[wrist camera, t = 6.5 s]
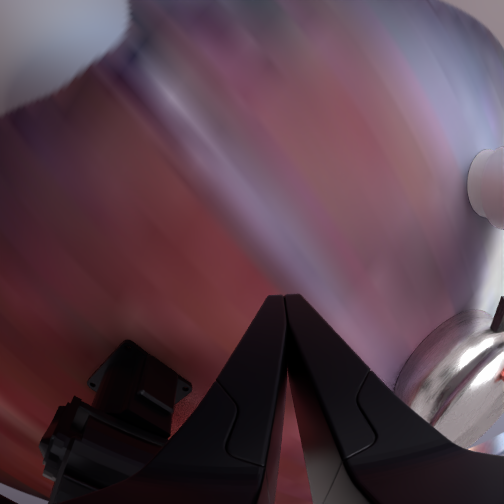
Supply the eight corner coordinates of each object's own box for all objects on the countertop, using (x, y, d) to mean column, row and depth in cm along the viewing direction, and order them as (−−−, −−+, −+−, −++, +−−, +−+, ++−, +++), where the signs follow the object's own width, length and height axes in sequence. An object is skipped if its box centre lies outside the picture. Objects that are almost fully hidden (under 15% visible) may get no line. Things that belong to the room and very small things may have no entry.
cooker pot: (366, 444, 29) (381, 477, 24) (431, 279, 23) (469, 306, 18) (465, 417, 31) (483, 441, 27) (528, 280, 25) (558, 298, 21)
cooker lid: (396, 473, 22) (407, 490, 20) (465, 351, 18) (487, 369, 16) (485, 430, 25) (496, 442, 23) (542, 325, 21) (557, 336, 19)
